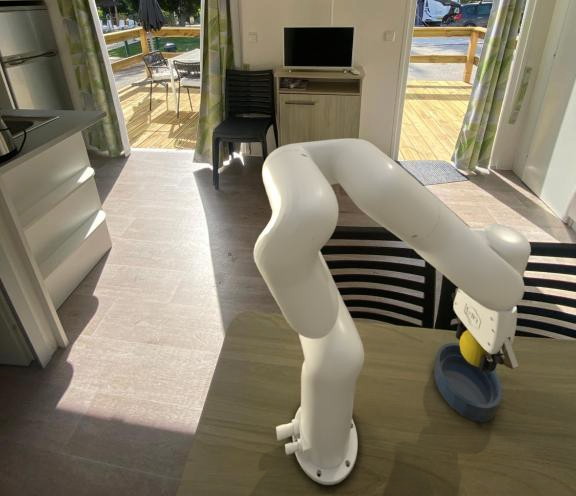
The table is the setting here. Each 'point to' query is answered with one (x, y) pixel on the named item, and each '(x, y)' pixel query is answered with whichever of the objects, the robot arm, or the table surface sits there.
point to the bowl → (466, 385)
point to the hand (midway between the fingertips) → (474, 351)
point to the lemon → (471, 348)
